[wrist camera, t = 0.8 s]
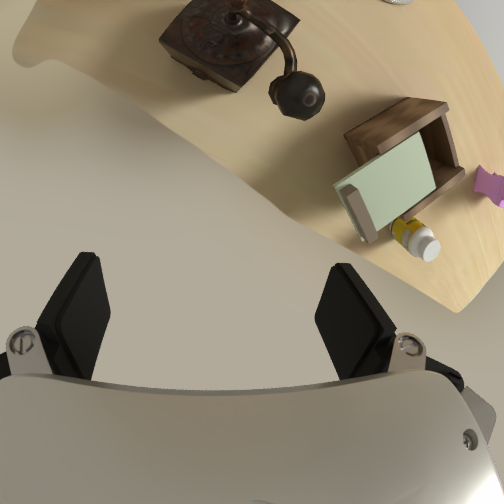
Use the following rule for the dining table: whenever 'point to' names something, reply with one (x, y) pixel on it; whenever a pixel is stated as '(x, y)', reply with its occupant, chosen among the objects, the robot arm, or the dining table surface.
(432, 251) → the supplement bottle
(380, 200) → the lid
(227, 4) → the brown manual coffee grinder
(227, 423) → the robot arm
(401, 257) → the dining table surface
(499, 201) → the toy chair
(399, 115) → the box
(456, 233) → the dining table surface
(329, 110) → the dining table surface
